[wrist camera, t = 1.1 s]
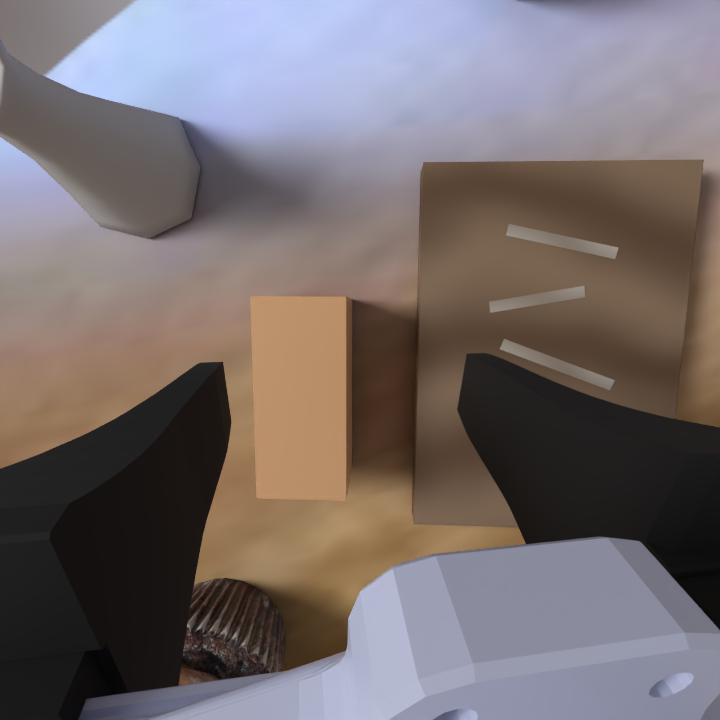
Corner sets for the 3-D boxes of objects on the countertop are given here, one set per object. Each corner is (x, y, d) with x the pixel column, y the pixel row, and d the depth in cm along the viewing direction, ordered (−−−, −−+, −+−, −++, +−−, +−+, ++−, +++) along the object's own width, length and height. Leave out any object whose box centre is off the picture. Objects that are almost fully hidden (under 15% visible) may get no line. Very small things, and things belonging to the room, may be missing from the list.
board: (644, 518, 24) (662, 532, 22) (411, 511, 25) (414, 524, 23) (681, 170, 21) (704, 159, 20) (420, 172, 22) (423, 162, 20)
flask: (92, 244, 23) (-119, 197, 14) (71, 114, 23) (-169, -38, 13) (210, 234, 23) (83, 177, 13) (194, 101, 22) (45, -68, 12)
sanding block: (352, 462, 25) (346, 500, 20) (280, 460, 25) (256, 498, 20) (353, 299, 23) (346, 296, 18) (277, 299, 23) (250, 296, 18)
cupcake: (329, 632, 26) (298, 833, 16) (234, 722, 27) (150, 960, 17) (220, 536, 25) (118, 682, 15) (128, 632, 27) (-21, 823, 17)
